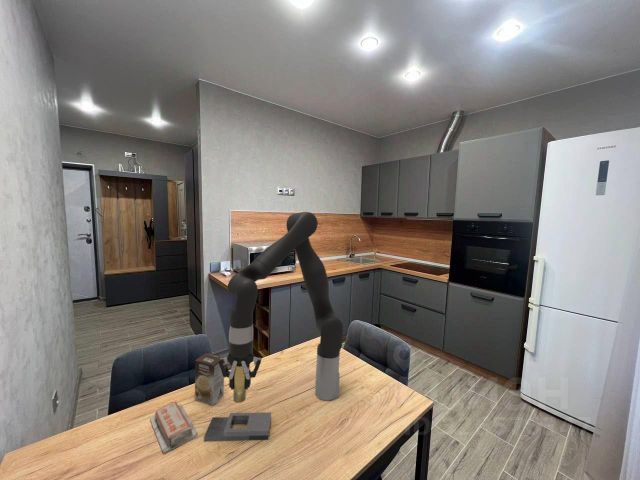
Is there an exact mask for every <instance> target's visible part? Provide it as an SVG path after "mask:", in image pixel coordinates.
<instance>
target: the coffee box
mask: <svg viewBox="0 0 640 480" xmlns="http://www.w3.org/2000/svg"><path fill="white" fill-rule="evenodd" d="M221 357H222V356H220V355H217V354H214V353H210V352H206V353H204V354H203V355H201V356H199V357H198V358H197V359H195V361H194V362H195V364H194V365H195V368H194V369H195V371H194V401H195V400H196V401H197V402H201V403H203V404H206V405H209V406H212V407H213V406H215V405H216V404H217V403H218V402H219V401H220V400H221V399H222V398H223V397H224V395H225V394H224V391H225V377H223V374H222V371H221V368H220V365H219V360H220V358H221Z"/></svg>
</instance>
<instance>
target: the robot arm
mask: <svg viewBox="0 0 640 480" xmlns="http://www.w3.org/2000/svg"><path fill="white" fill-rule="evenodd" d="M318 223H319V222H318V219H317V216H316V215H315V214H314V213H313V212H309V211H302V212H297V213H292V214H291V215H289V216H288V217H287V219H286V231H287V233H285V234H284V235H283V236H281V237H280V238H279V239H277V241H275V242H274V243H272V244H271V245H269V246H267V247H266V248H265V249H264V250H263V251H262V252H261V253H260V254H258V255H257V257H256V258H255V259H254V260H253V261H252V262H251V263H250V264H249V265H247V266H245V267H243V268H242V269H241V270H239V271H238V272H236V273H235V274H234V275H233V276H232V277H231V278H230V280H229V281H228V284H227V292H228V293H229V294H230V295H231V296H232V297H234V298H236V302H235V303H236V305H234V306H233V307H232V308H230V309H231V310H230V314H229V331H228V355H227V356H225V357H224V356H221V358H220V360H219V365H220V368H221V371H222V374H223V377H224V378H228V380H229V381H228V387H229V388H230V390H231V391H234V372H235V368H236V366H243V370H244V373H245V376H246V381H245V390H246V391H247V390H248V389H249V388H250V386H251V383H252V378H256V375H257V373H258V370H259V368H260V366H261V363H262V360H263V359H262V356H258V357H257V356H255V354H254V351H253V350H254V349H253V348H254V323H253V322H254V310H255V307H256V303H257V300H258V299H257V298H258V292H259V291H258V290H259V289H258V288H259V287H258V285H257V283H256V282H257V281H259V280H265V279H266V278H267V279H268V276H270V275H271V274H272V273H273V272H274V270H275V269H276V268H277V267H278V266H279V265H280V264H281V263H282V262H283V261H284V260H285V258H286V257H288V256H289V255H290V254H291V253H292V252H293V251H295V253H296V256H297V261H298V263H299V266H300V272H301V275H302V279H303V282H304V285H305V288H306V291H307V294H308V296H309V299H310V301H311V304H312V308H313V313H314V319H315V326H316V328H317V330H318V331H319V333H320V339H319V340H320V341H319V343H318V344H317V346H316V347H317V348H316V366H315V367H316V368H315V388H314V389H315V391H314V393H315V396H316V397H317V398H318V399H319V400H321V401H333V400H335V399H339V397H340V396H339V394H340V379H341V377H340V372H339V371H340V355H341V349H342V345H343V337H344V324H343V321H341V319H340V318H339V317H338V316H337V315H336V314H335V311H334V309H333V307H332V304H331V301H330V296H329V293H330V291H329V289H330V285H329V284H330V283H329V277H328V274H327V270H326V268H325V267H326V266H325V265H324V263H323V261H322V259H321V258H320V256H319V255H318V254H317V253H316V251H315V250H314V248H313V246H312V244H311V241H310V237H311V236H313V235H314V234H315V232H316V231H317V229H318V225H319V224H318ZM252 362H253V365H254V368H253V370H252V371H251V364H252ZM228 363H229V365H230V366H231V368H230V370H229V368H228V367H229V366H228ZM248 391H249V390H248Z"/></svg>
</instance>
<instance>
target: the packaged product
mask: <svg viewBox="0 0 640 480" xmlns="http://www.w3.org/2000/svg"><path fill="white" fill-rule="evenodd" d="M149 420H150V423H151V426H152V427H153V430H154V433H155V436H156V439H157V441H158V443H159V447H160V449H161V450H162V453H163V455H165V454H167V453H170V452H171V451H173V450H174V449H177V448H179V447H181V446H182V445H185V444H186V443H188V442H191V441H192V440H193V439H195V438H197V437H198V431H197V429H196V428H195V426H194V423H193V422H192V421H191V419H190V417H189V415H188V414H187V412H186V410H185V409H184V406H183V405H182V403H179V404H178V402H177V401H170V402H167V404H165V405H164V406H162V407H161V408H159V409H158V410H156V411H155V413H154V415H153V416H151V417H150V418H149Z"/></svg>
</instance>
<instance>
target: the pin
mask: <svg viewBox="0 0 640 480" xmlns="http://www.w3.org/2000/svg"><path fill="white" fill-rule="evenodd" d="M245 381H246V376H245V373H244V370H243V366H236V368H235V372H234V389H233V393H232V395H233V402H234V403H237V404H239V403H243V402H245V401H246V399H247V390H245Z"/></svg>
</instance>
